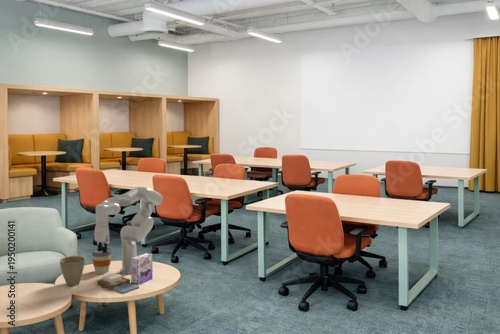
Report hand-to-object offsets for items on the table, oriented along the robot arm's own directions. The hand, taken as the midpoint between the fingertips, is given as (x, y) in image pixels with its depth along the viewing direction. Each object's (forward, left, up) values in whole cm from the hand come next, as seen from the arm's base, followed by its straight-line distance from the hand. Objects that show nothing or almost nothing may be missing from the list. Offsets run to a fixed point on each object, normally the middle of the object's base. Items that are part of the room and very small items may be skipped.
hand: (102, 251), depth 292 cm
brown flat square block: (0, +11, -19) cm, 22 cm away
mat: (0, +23, -19) cm, 30 cm away
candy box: (-16, +19, -20) cm, 32 cm away
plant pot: (+15, -10, -20) cm, 27 cm away
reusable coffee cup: (-11, -16, -20) cm, 28 cm away
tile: (0, +10, -16) cm, 19 cm away
